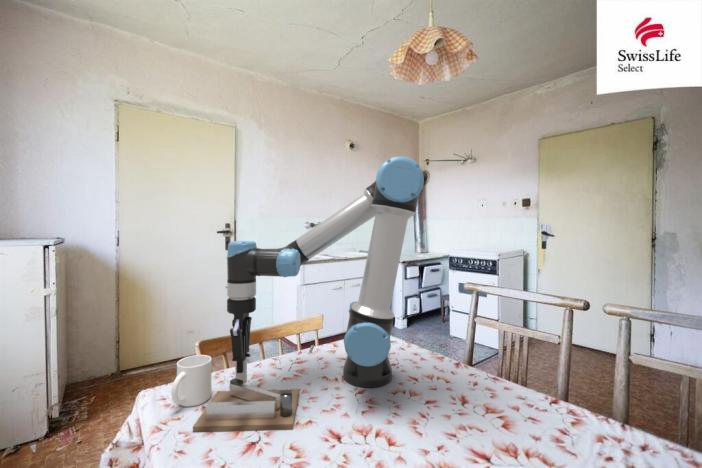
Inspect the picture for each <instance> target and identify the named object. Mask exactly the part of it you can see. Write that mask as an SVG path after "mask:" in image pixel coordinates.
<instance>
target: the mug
mask: <svg viewBox="0 0 702 468" xmlns="http://www.w3.org/2000/svg"><path fill="white" fill-rule="evenodd" d="M212 361H213V360H212V356H210V355H205V354H195V355H194V354H193V355H189V356H186V357H185V356H184V357H183V358H181V359H180V360H178V361H177V362H176V377H175V379H174V381H173V383H172V387H171V399H172V402H173V403H174V404H176V405H177V404H178V405H179V406H181V407H186V408H187V407H188V408H189V407H190V408H192V407H195V406H200V405H202V404H205V403H206V402H207V401H208V400H209V399H210V398H211V396H212V374H213V373H212V368H213V367H212V364H213V363H212Z"/></svg>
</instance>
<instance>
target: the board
mask: <svg viewBox="0 0 702 468" xmlns="http://www.w3.org/2000/svg"><path fill="white" fill-rule="evenodd" d="M265 390H266V391H270V392H273V393H277V394H281V391H292V415H291V416H290V417H281V416H280V407H279V408H278V409H277V410H276V409H275V418H270V419H230V420H206V408H205V409H204V410H203V412H201V414H200V416H199V417H198V418H197V420H196V422H195V423H194V424H193V426H192V433H203V432H204V433H205V432H207V433H211V432H213V433H214V432H240V431H241V432H243V431H244V432H245V431H246V432H247V431H251V432H252V431H280V430H282V431H283V430H285V431H286V430H293V428H294V423H295V419H296V413H297V407H298V403H299V399H300V398H299V397H300V389H265ZM209 402H251V401H248V400H245V399H242V398H238V397H235V396H232V395H230V390H217V391H216V393H215V394H214V396H213V397H212V398H211V400H210V401H209Z"/></svg>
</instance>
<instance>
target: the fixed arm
mask: <svg viewBox="0 0 702 468" xmlns="http://www.w3.org/2000/svg"><path fill="white" fill-rule="evenodd" d="M275 406H276V401H251V402H210V401H209V402H208V403H207V404H206V407H205V409H206V420H230V419H270V418H275ZM291 415H292V391H281V394H280V416H281V417H290V416H291Z"/></svg>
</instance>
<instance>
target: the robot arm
mask: <svg viewBox="0 0 702 468" xmlns="http://www.w3.org/2000/svg"><path fill="white" fill-rule="evenodd" d="M424 183H425V179H424V172H423V169H422V167H421V166H420V165H419V164H418V162H416V161H415V160H414V159H412V158H410V157H407V156H398V155H397V156H393V157H391V158H388V159H387V160H386V161H384V162H383V163H382V164H381V165H380V167H379V168H378V170H377V173H376V176H375V180H374V182H373V183H371V184H370V185H369V186H367V187H366V188H364V191H363V194H362V195H360V196H358V197H357V198H356V199H354V200H352V201H351V202H349V203H348V204H347V205H345V206H344V207H342V208H341V209H339V210H338V211H336V212H335V213H333V214H332V215H331V216H329V217H328V218H326V219H325V220H322V222H320V223H318V224H317V225H315V226H314V227H313V228H311V229H310V230H308V231H307V232H305V233H304V234H302V235H301V236H299V237H297V238H296V239H294V240H293V241H292V242H290V243H288V244H287V245H286V246H284V247H278V248H260V247H259V248H258V247H257V242H256V241H253V240H251V241H250V240H234V241H233V240H232V241H230V242H229V243H228V245H227V257H226V261H227V263H226V265H227V267H226V269H227V270H226V272H227V279H226V280H227V284H226V285H225V286H224V287H225V289H227V292H226V296H227V297H228V298H227V300H226V311H227V313H228V314H231V315H233V316H234V317H233V319H232V321H231V322H232V324H231V326H232V328H230V330H229V333H230V339H231V351H232V353H231V354H232V359H231V361H232V362H235V367H234V368H235V376H234V378H236V379H239V380H243V384H246V383H247V381H248V358H250V357H251V353H249V352H250V340H251V325H252V319H253V318H252V316H250V313H253V312H255V311H256V309H257V298H256V297H255V296H257V277H280V278H281V277H282V278H288V277H291V278H292V277H296V276H297V275H299V273H300V270H301V266H302V265H304V264H305V263H306V262H308V261H310V260H311V259H312V258H314V257H315V256H317V255H318V254H320V253H321V252H323V251H324V250H326V249H328V248H329V247H330V246H332V245H333V244H335V243H336V242H338V241H340V240H341V239H342V238H344V237H345V236H347V235H349V234H350V233H352V232H353V231H355V230H357V229H358V228H359V227H361V226H362V225H364V224H365V223H367V222H369V220H371V219H373V218H374V220H373V226H372V230H371V237H370V241H369V246H368V251H367V256H366V261H365V265H364V270H363V271H364V272H363V275H362V281H361V287H360V291H359V296H358V300H357V301H352V302H351V303H350V304H349V308H348V313H349V317H348V318H349V319H348V323H347V327H346V332H345V334H344V336H343V337H344V338H343V345H344V349H345V353H346V355H347V356H346V359H345V361H344V365H343V369H342V374H343V375H342V377H343V379H344V380H345V381H346V383H348V384H350V385H353V386H356V387H361V388H377V387H378V388H379V387H383V386H385V385H387V384H390V382H391V381H392V379H393V368H392V365H391V362H390V359H389V356H388V355H389V354H390V350H391V348H392V345H391V342H392V341H391V336H392V335H391V333H392V329H393V323H394V320H395V319H394V318H395V314H394V312H393V310H392V309H391V304H392V299H393V295H394V290H395V286H396V281H397V280H396V279H397V275H398V269H399V265H400V260H401V254H402V250H403V244H404V241H405V236H406V230H407V226H408V220H409V219H410V218H412V217H413V216H414V215H416V211H417V207H418V206H417V205H418V201H419V197H420V196H419V195H420V193H421V191H422V190H423V188H424ZM246 385H247V384H246Z"/></svg>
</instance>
